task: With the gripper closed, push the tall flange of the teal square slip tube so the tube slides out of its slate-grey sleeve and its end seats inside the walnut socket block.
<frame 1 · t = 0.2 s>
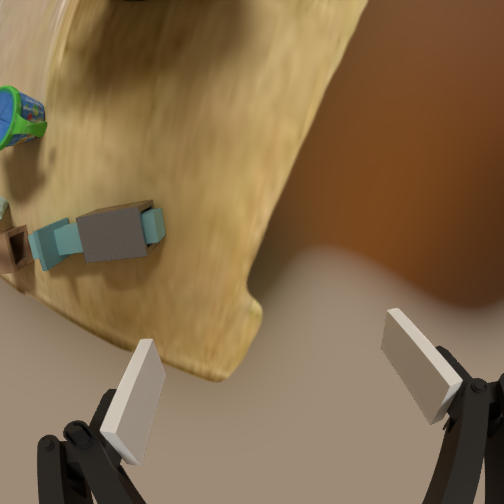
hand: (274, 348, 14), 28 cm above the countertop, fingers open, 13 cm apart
snack cup: (33, 121, 33), on the countertop
robot head: (7, 201, 37), on the countertop
sleeve: (126, 225, 40), on the countertop
socket block: (20, 244, 39), on the countertop
slip tube: (83, 237, 35), point 5 cm above the countertop, slide at 0.0 cm
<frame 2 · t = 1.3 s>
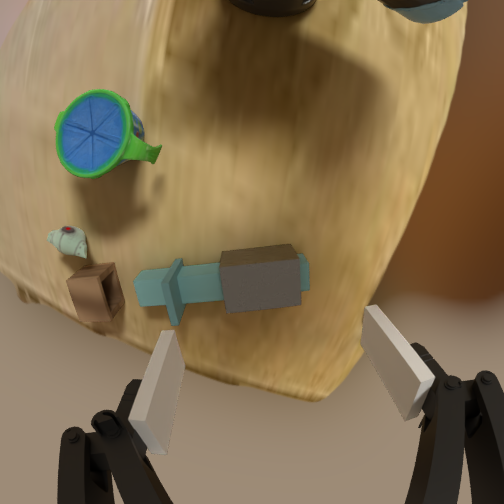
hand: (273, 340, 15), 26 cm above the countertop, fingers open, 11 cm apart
snack cup: (123, 137, 35), on the countertop
robot head: (82, 232, 39), on the countertop
sleeve: (258, 268, 42), on the countertop
socket block: (104, 283, 41), on the countertop
slip tube: (219, 285, 37), point 5 cm above the countertop, slide at 0.0 cm
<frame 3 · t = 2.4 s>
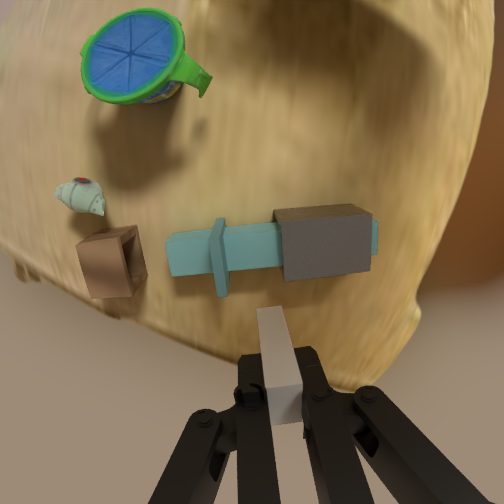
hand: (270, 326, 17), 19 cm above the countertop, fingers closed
snack cup: (157, 77, 28), on the countertop
robot head: (98, 189, 32), on the countertop
sleeve: (314, 232, 35), on the countertop
socket block: (122, 252, 35), on the countertop
slip tube: (276, 248, 30), point 5 cm above the countertop, slide at 0.0 cm
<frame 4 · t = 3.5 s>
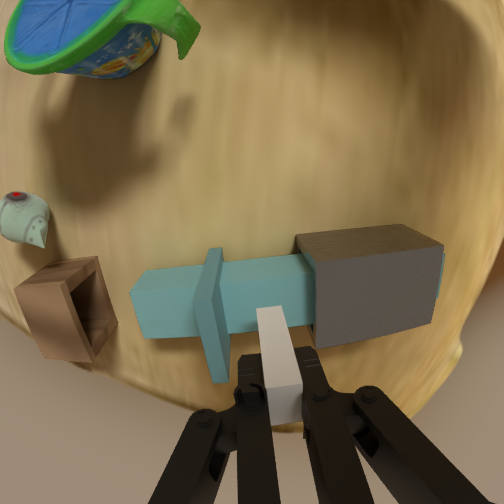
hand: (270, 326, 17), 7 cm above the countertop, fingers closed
snack cup: (124, 44, 17), on the countertop
robot head: (46, 206, 21), on the countertop
sleeve: (352, 265, 23), on the countertop
socket block: (83, 292, 23), on the countertop
slip tube: (303, 298, 19), point 5 cm above the countertop, slide at 0.0 cm
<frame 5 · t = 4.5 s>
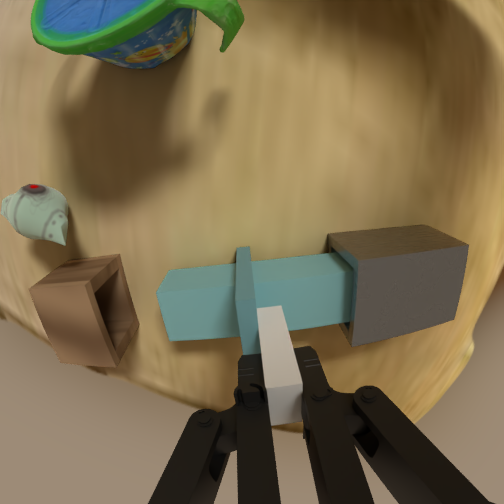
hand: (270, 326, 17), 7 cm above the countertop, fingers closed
snack cup: (153, 34, 16), on the countertop
robot head: (63, 201, 20), on the countertop
sleeve: (379, 264, 23), on the countertop
socket block: (101, 293, 23), on the countertop
slip tube: (334, 297, 19), point 5 cm above the countertop, slide at 0.4 cm, touching gripper
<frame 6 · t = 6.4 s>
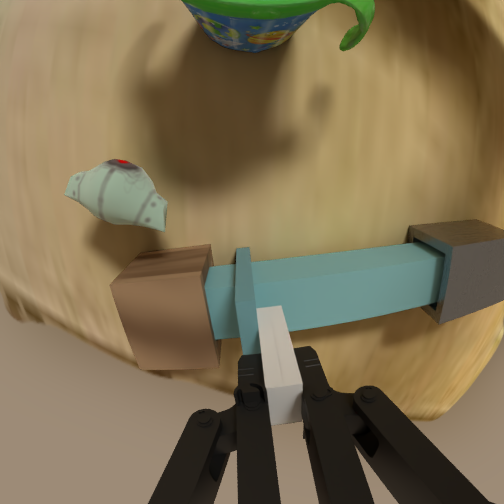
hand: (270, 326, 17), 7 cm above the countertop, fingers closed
snack cup: (249, 19, 16), on the countertop
robot head: (140, 184, 20), on the countertop
sleeve: (444, 253, 23), on the countertop
socket block: (182, 287, 23), on the countertop
slip tube: (334, 298, 19), point 5 cm above the countertop, slide at 8.5 cm, touching gripper
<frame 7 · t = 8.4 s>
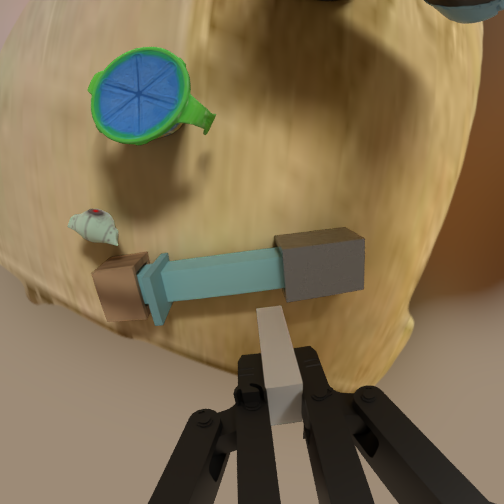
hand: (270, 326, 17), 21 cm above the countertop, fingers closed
snack cup: (162, 110, 31), on the countertop
robot head: (108, 218, 35), on the countertop
sleeve: (312, 254, 38), on the countertop
socket block: (134, 277, 38), on the countertop
slip tube: (208, 281, 33), point 5 cm above the countertop, slide at 8.5 cm
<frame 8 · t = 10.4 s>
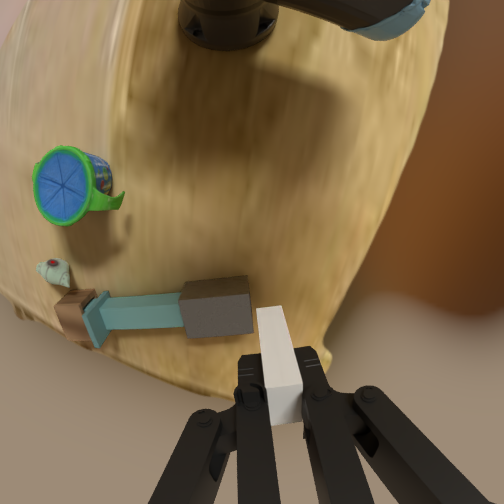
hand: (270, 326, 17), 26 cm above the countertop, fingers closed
snack cup: (94, 179, 38), on the countertop
robot head: (66, 262, 42), on the countertop
sleeve: (219, 297, 45), on the countertop
socket block: (87, 306, 45), on the countertop
slip tube: (131, 317, 40), point 5 cm above the countertop, slide at 8.5 cm
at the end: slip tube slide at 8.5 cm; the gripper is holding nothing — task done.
